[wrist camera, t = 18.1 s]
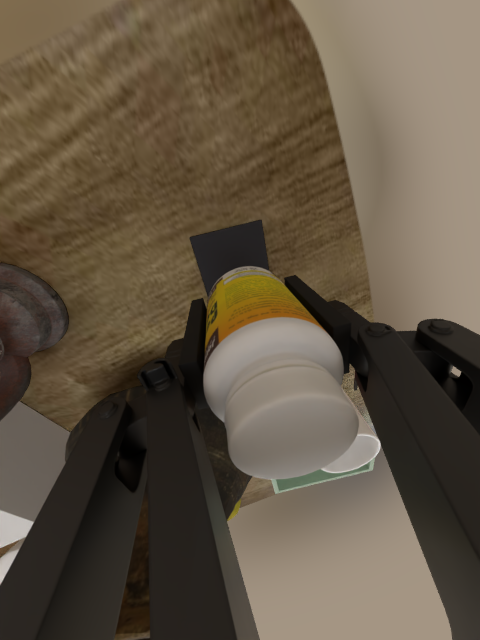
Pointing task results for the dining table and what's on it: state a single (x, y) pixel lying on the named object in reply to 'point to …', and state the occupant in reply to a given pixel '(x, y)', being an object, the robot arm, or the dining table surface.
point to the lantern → (25, 329)
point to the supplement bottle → (274, 378)
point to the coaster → (229, 251)
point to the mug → (356, 448)
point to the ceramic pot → (230, 484)
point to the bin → (316, 478)
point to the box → (27, 468)
